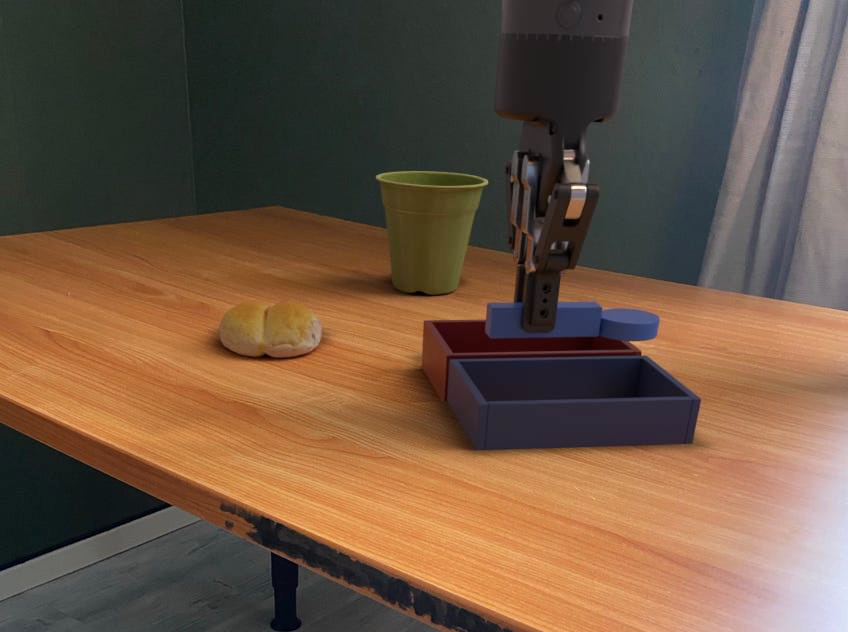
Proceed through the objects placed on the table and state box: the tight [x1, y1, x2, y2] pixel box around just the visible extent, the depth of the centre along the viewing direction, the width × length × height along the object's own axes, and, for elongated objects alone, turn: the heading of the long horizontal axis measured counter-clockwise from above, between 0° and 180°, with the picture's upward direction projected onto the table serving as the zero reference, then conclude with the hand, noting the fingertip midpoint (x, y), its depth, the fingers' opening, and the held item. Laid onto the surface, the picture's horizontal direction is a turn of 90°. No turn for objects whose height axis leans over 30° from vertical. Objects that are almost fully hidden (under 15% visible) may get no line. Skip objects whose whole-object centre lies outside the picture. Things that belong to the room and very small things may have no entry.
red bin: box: [421, 319, 643, 403], centre depth 80 cm, size 15×10×4 cm
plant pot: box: [375, 170, 489, 296], centre depth 107 cm, size 12×12×11 cm
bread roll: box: [218, 299, 323, 359], centre depth 88 cm, size 8×9×4 cm
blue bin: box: [446, 355, 702, 452], centre depth 71 cm, size 15×10×4 cm
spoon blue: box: [485, 301, 661, 342], centre depth 68 cm, size 12×4×2 cm, turn 97°
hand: (532, 326), depth 67 cm, fingers closed on spoon blue, 1 cm apart
